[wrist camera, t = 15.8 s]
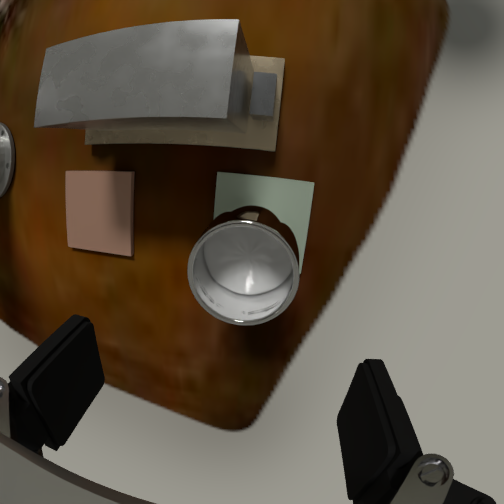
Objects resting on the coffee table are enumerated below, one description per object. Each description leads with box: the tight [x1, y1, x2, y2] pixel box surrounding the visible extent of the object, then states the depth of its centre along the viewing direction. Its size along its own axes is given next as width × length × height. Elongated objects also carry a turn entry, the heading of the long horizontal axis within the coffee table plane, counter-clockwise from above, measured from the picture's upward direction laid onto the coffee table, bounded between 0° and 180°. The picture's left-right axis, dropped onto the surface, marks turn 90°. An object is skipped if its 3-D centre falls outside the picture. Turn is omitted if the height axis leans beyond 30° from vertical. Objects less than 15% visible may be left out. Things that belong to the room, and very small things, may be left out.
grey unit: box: [34, 19, 285, 152], centre depth 22 cm, size 22×10×14 cm, turn 84°
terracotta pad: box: [66, 171, 135, 256], centre depth 33 cm, size 10×10×1 cm
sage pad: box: [214, 172, 314, 274], centre depth 32 cm, size 10×10×1 cm
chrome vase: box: [187, 195, 299, 325], centre depth 24 cm, size 7×7×15 cm
